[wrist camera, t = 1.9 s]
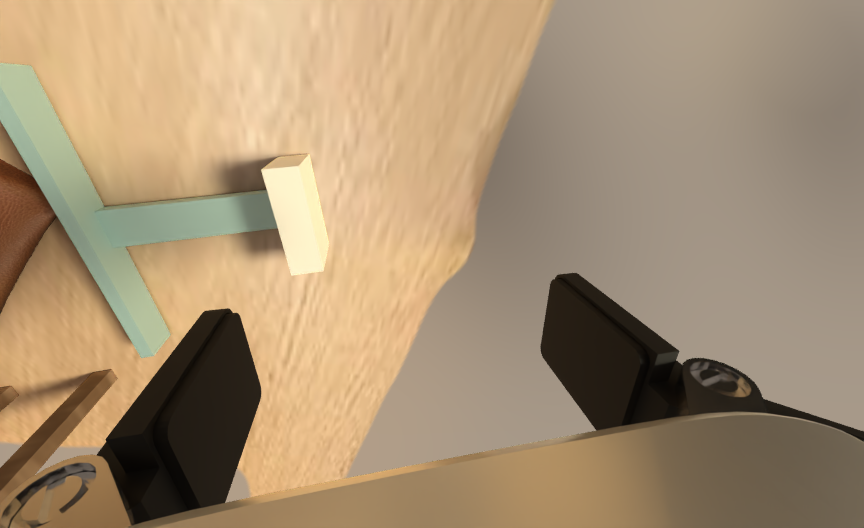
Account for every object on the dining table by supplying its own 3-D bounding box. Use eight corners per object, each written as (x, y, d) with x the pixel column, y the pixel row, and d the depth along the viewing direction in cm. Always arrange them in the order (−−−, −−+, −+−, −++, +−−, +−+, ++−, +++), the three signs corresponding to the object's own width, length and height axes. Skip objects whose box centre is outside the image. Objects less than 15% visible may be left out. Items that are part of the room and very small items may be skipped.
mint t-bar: (287, 52, 24) (269, 41, 19) (343, 307, 34) (340, 341, 29) (13, 66, 22) (-83, 58, 17) (159, 336, 32) (124, 378, 27)
